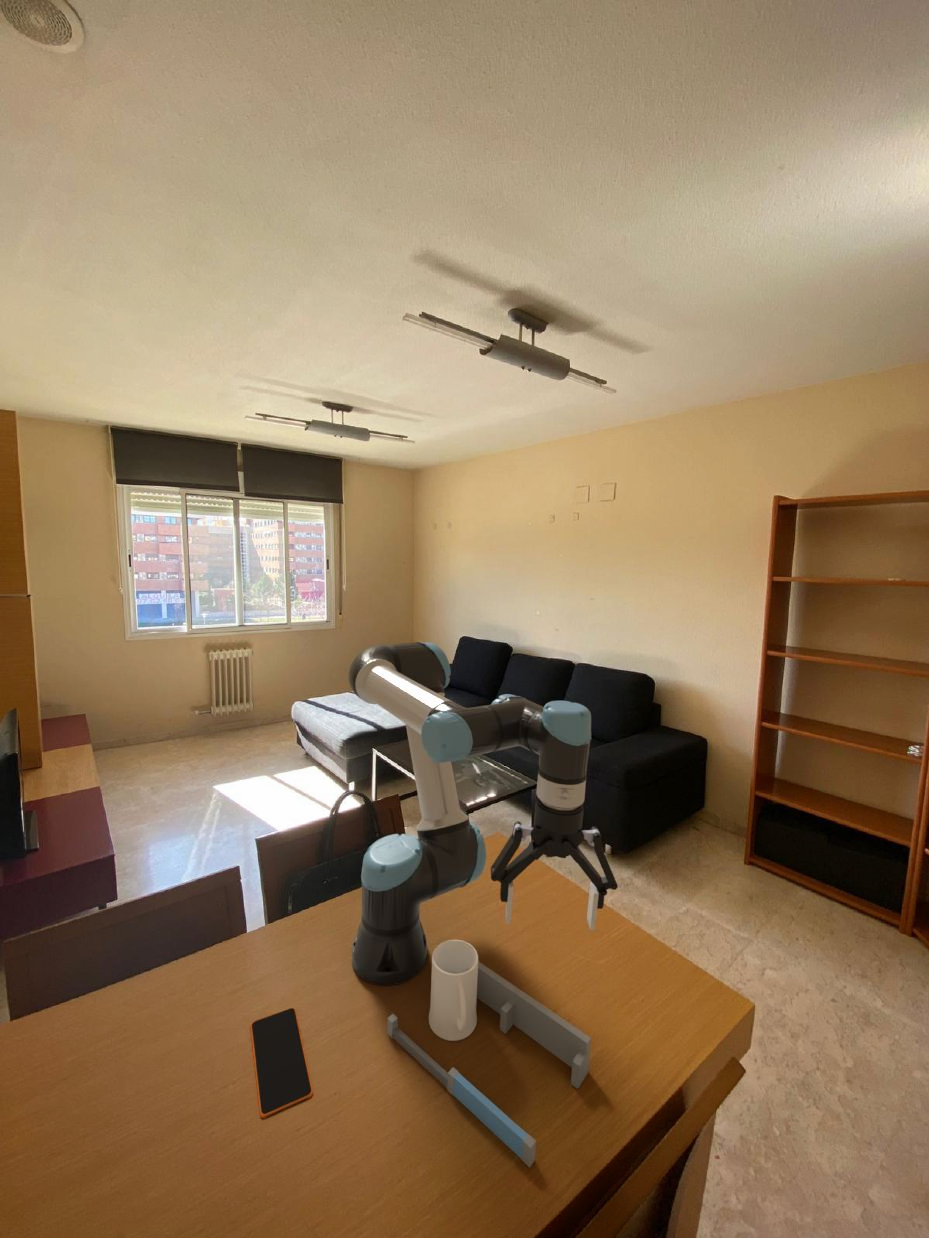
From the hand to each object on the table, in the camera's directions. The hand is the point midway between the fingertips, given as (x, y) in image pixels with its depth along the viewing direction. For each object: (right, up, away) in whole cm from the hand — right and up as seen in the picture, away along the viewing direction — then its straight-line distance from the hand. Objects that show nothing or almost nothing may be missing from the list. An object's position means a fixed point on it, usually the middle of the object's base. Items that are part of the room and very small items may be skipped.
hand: (549, 921), depth 83 cm
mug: (-16, -21, +4) cm, 27 cm away
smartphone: (-44, -21, -2) cm, 49 cm away
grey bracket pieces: (-11, -22, 0) cm, 24 cm away
